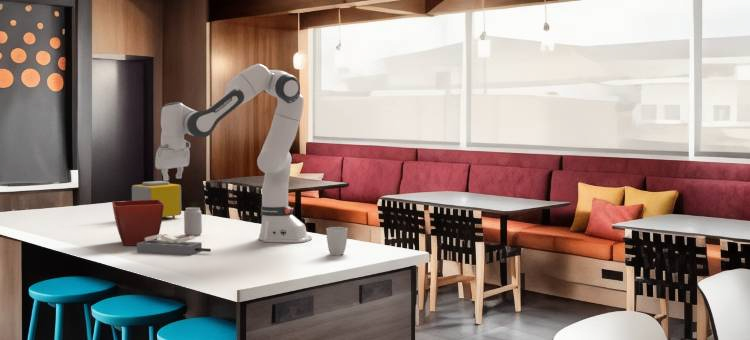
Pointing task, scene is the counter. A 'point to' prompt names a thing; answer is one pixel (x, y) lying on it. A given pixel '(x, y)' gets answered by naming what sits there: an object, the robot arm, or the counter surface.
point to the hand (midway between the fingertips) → (172, 179)
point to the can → (192, 221)
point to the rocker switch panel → (170, 247)
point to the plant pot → (137, 219)
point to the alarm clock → (160, 195)
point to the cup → (336, 240)
